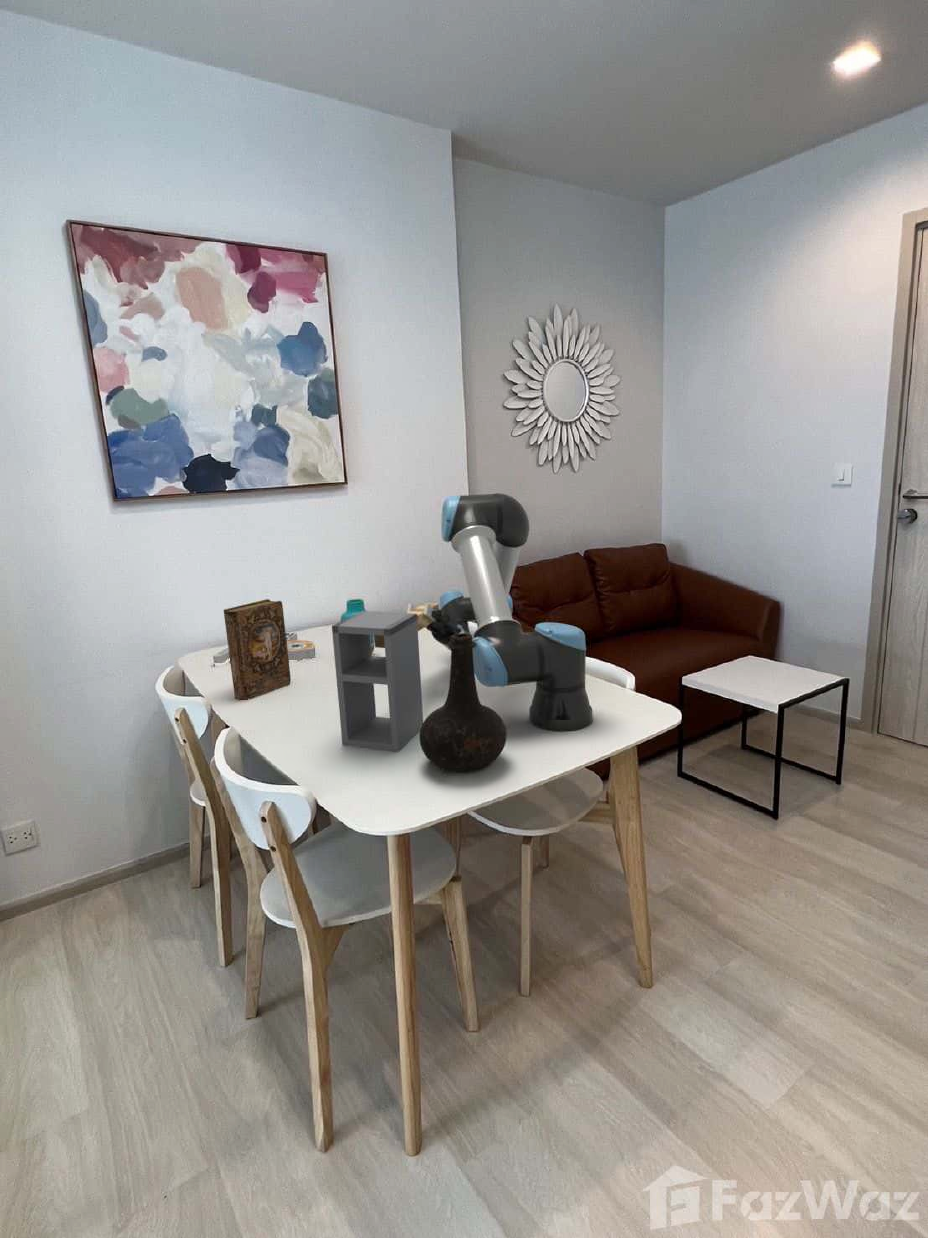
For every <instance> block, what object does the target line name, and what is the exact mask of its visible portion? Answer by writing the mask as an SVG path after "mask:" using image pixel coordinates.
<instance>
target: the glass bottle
mask: <svg viewBox="0 0 928 1238" xmlns="http://www.w3.org/2000/svg"><path fill="white" fill-rule="evenodd" d="M472 637H473V635H472V634H471V633H470V634H466V633H462V634H457V635H452V636H451V637H450V638H451V642H449V643H448V647H449V648H451V650H450V672H449V673H450V674H449V675H450V676H449V684H448V691H447V695H446V700H445V702H444V704H443V706H441V707H438V708H436V709H435V710H434V711H432V712H431V713H429V714H428V715H427V716H426V717H425V719H424V720H423V724H422V727H421V730H420V731H419V743H420V748H421V751H422V752H423V754H424V756H425V757H426V759H427V760H428V761H429V762H430V763H431V764H433V765H434V766H435V767H437V768H439V769H441V770H443V771H446V772H451V773H457V774H459V773H460V774H470V773H477V772H479V771H482V770H484V769H486V768H488V767H489V766H491V765H492V764H493V763H494V762H495V761H496V760H497V759H498V757H500V755H501V753H502V752H503V750H504V748H505V746H506V742H507V735H508V734H507V733H508V732H507V726H506V724H505V722H504V721H503V719H502V717H501V716H500V715H499V714H498V713H497V712H496V711H495V710H494V709H492V708H491V707H488V706H486V705H484V704H482V703H481V701H480V698H479V694H478V690H477V685H476V675H475V673H474V663H473V650H472V648H474V647H476V645H477V644H476V643H475V642H473V641H472Z"/></svg>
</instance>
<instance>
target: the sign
mask: <svg viewBox="0 0 928 1238" xmlns="http://www.w3.org/2000/svg"><path fill="white" fill-rule="evenodd" d="M285 632H286V641H287V650H288V659H289V660H303V659H308V658H309V659H312V658H315V659H316V656H315V654H316V646H315V645H316V644H315V643H314V641H312V640H308V639H305V640H304V639H298V632H287V631H285ZM316 655H317V654H316ZM212 657H213V658H212V659H213V664H214V663H223V662H225V661H226V660H227V659H229V658H230V656H229V648H228V647H226V648H224V649H222V650H221V651H218V652H216V653H215V654H213V655H212ZM309 659H308V660H309ZM312 660H313V659H312Z"/></svg>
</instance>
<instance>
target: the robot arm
mask: <svg viewBox="0 0 928 1238" xmlns="http://www.w3.org/2000/svg"><path fill="white" fill-rule="evenodd" d="M526 511H527V510H526V509H525V508H524V507H523V505H522V504H521V502H519V501H518V500H517V499H516V498H515V497H512V496H511V495H508V494H506V493H501V492H500V493H489V494H488V493H487V494H486V493H485V494H468V495H467V494H465V495H461V494H459V495H455V496H448V497H446V498H445V499H444V501H443V504H442V510H441V521H440V522H441V523H440V524H441V538H442V540H443V542H445V543H450V544H451V547H452V548H451V549H453V551H454V552H456V553H458V554H459V557H460V561H461V565H462V567H463V573H464V577H465V581H466V585H467V588H468V594H469V596H466V597H465V596H464V593H463V592H462V591H460V590H447V591H444V592H443V593H442V594H441V595H440V597H439V610H438V612H437V611H435V610H434V609H433V608H432V607H430V606H429V605H428V604H425V603H424V604H425V608H424V615H425V616H427V617H428V618H429V619H430V620H432V621H434V622H432V623H431V624H429V625H428V626H426V627H424V628H425V629H426V630H427V631H429V632H431V635H432V637H433V639H434V640H435V641H437V642H438V643H440V644H441V645H443V646H444V647H445V648H447V650H448V651H451V648H449V647H448V643H449V642H451V638H450V637H451V636H452V635H457V634H462V633H466V634H471V633H470V627H469V626H470V625H469V622H476V627H477V628H476V630H475V631H474V633H473V635H472V641H473V642H475V643H476V644H477V645H476V647H474V648H472V650H473V663H474V674H475V678H476V679H477V681H478V682H479V683H480V684H482V686H485V687H487V688H492V687H493V688H495V687H500V688H503V687H507V686H514V685H521V684H528V683H535V690H534V694H533V697H532V701H531V705H530V707H529V710H528V711H529V713H528V714H529V717H528V718H529V721H530V723H531V724H533V725H534V726H536V727H538V728H541V729H546V730H549V731H558V730H559V732H560V731H561V732H562V731H563V730H566V732H567V730H568V731H575V730H576V731H577V730H579V729H582V728H585V726H586V727H588V726H589V725H591V724H592V722H593V717H594V716H593V709H592V706H591V704H590V699H589V696H588V693H587V690H586V661H587V659H586V655H587V652H586V650H587V646H586V634H585V632H584V631H583V630H582V629H581V628H579V627H577V626H574V625H572V624H571V625H570V624H565V623H561V622H560V623H559V622H549V621H548V622H540V623H537V624H535V627H534V631H531V632H524V631H523V627H522V625H521V623H520V622H519V621H517V620H516V619H513V616H512V614H513V608H514V607H513V605H514V604H513V603H514V602H513V599H512V597H511V595H510V594H509V593H510V590H511V586H512V583H513V579H514V575H515V572H516V568H517V564H518V561H519V557H520V553H521V549H522V547H523V546H525V544H526V543H528V542H527V541H528V537H529V534H530V521H529V517H528V513H527V512H526ZM493 544H494V545H493ZM415 608H417V606H415V605H414V604H412V603H408V605H407V610H406V613H408V612H410V611H412V610H414V609H415ZM435 620H436V621H435ZM424 628H423V629H424ZM587 725H588V726H587ZM563 732H564V731H563Z"/></svg>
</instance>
